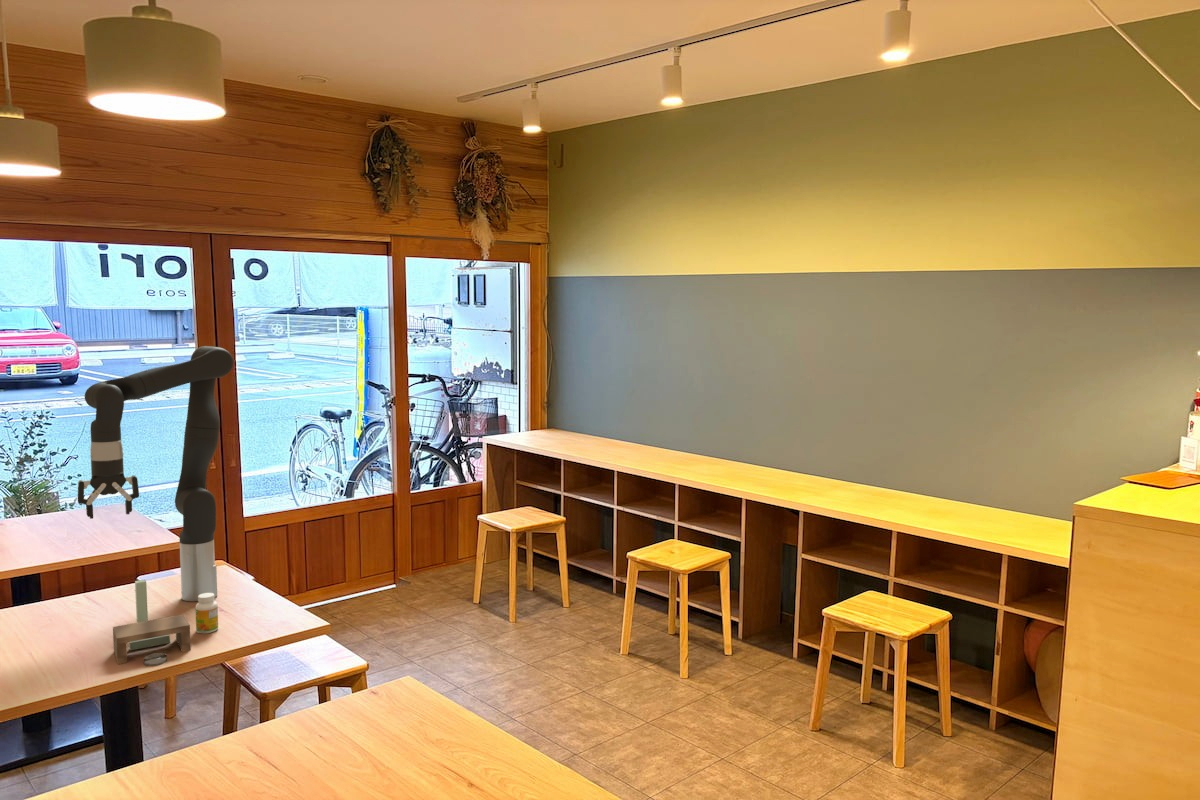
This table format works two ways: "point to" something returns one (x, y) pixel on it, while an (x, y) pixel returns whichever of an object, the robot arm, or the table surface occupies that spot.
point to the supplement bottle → (206, 613)
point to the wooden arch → (150, 633)
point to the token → (155, 659)
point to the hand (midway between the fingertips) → (109, 516)
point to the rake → (144, 618)
